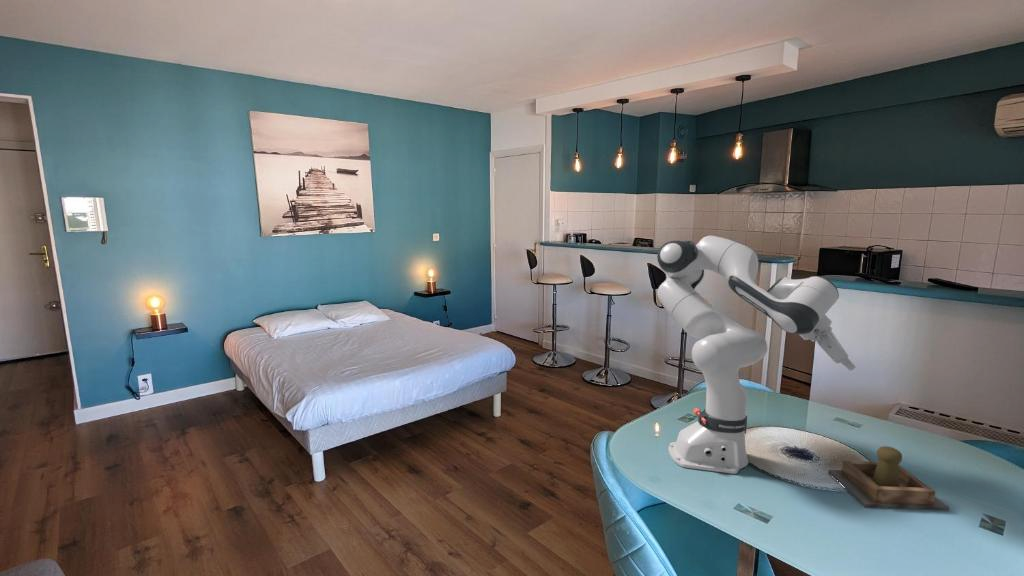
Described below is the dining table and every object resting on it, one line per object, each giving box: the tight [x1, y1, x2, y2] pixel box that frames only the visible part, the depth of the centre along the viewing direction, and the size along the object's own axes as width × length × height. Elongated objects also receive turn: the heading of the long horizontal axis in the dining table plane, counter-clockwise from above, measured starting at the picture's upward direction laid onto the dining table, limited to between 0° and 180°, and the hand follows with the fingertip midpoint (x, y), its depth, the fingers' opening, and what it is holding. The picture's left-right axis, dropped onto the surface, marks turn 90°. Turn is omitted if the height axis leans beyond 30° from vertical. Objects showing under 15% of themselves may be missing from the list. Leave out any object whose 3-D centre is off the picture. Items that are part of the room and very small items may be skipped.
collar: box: [827, 460, 950, 512], centre depth 128 cm, size 20×16×4 cm
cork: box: [872, 445, 903, 487], centre depth 127 cm, size 6×6×11 cm
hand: (849, 363), depth 137 cm, fingers open, 8 cm apart
